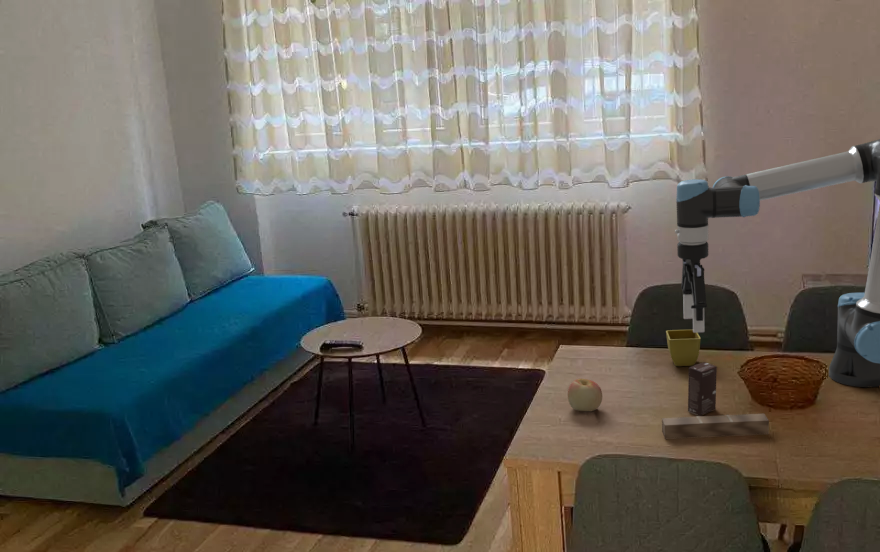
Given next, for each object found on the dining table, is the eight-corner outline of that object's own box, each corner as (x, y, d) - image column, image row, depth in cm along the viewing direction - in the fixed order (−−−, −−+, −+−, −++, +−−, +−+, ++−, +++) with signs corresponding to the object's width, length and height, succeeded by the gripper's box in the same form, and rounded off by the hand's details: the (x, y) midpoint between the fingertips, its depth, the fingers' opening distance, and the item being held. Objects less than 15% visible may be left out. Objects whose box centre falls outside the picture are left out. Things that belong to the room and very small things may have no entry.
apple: (571, 402, 231) (570, 374, 229) (605, 404, 228) (604, 376, 226) (565, 416, 223) (563, 387, 221) (599, 418, 220) (598, 388, 218)
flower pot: (666, 358, 256) (665, 329, 254) (696, 357, 255) (696, 328, 253) (669, 369, 248) (669, 339, 246) (701, 368, 247) (700, 338, 244)
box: (701, 417, 216) (701, 371, 213) (687, 411, 219) (686, 367, 216) (717, 410, 219) (717, 365, 216) (703, 405, 222) (703, 361, 219)
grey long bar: (763, 426, 207) (763, 413, 206) (768, 434, 203) (768, 419, 202) (662, 431, 209) (661, 417, 208) (665, 438, 205) (664, 424, 205)
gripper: (668, 233, 229) (670, 312, 235) (687, 253, 207) (688, 340, 212) (697, 231, 228) (698, 310, 234) (719, 251, 206) (719, 338, 211)
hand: (693, 325), depth 223 cm, fingers open, 11 cm apart
